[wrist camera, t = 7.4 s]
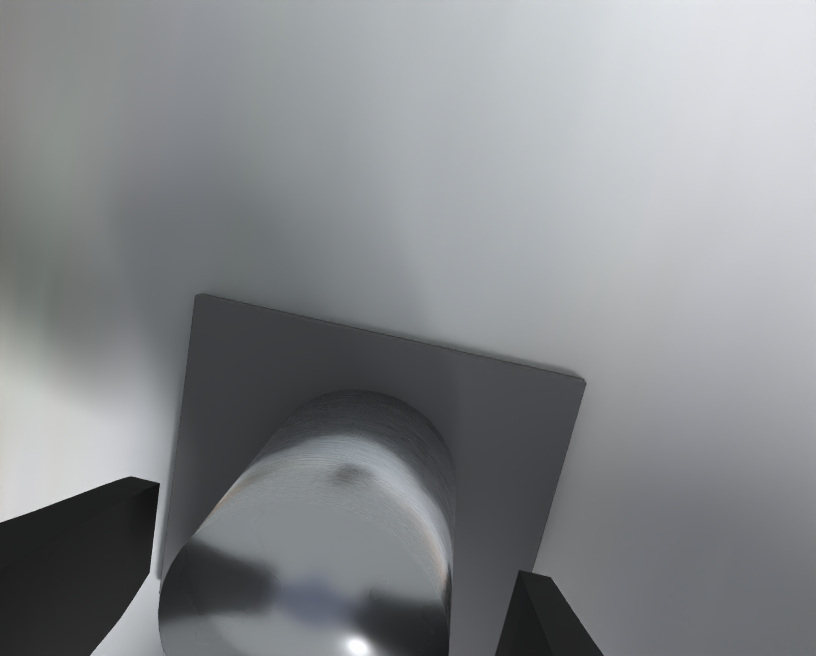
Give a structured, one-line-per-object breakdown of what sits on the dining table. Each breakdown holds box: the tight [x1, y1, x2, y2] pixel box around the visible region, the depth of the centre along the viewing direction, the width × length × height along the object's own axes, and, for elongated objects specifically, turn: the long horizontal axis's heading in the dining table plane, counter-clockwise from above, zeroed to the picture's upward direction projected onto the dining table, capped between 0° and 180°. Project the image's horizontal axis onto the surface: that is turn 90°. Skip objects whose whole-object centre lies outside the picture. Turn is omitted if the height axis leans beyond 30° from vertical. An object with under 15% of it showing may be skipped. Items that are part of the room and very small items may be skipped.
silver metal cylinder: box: [158, 390, 457, 656], centre depth 12 cm, size 5×7×5 cm, turn 166°
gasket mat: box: [159, 294, 586, 656], centre depth 15 cm, size 9×8×1 cm
